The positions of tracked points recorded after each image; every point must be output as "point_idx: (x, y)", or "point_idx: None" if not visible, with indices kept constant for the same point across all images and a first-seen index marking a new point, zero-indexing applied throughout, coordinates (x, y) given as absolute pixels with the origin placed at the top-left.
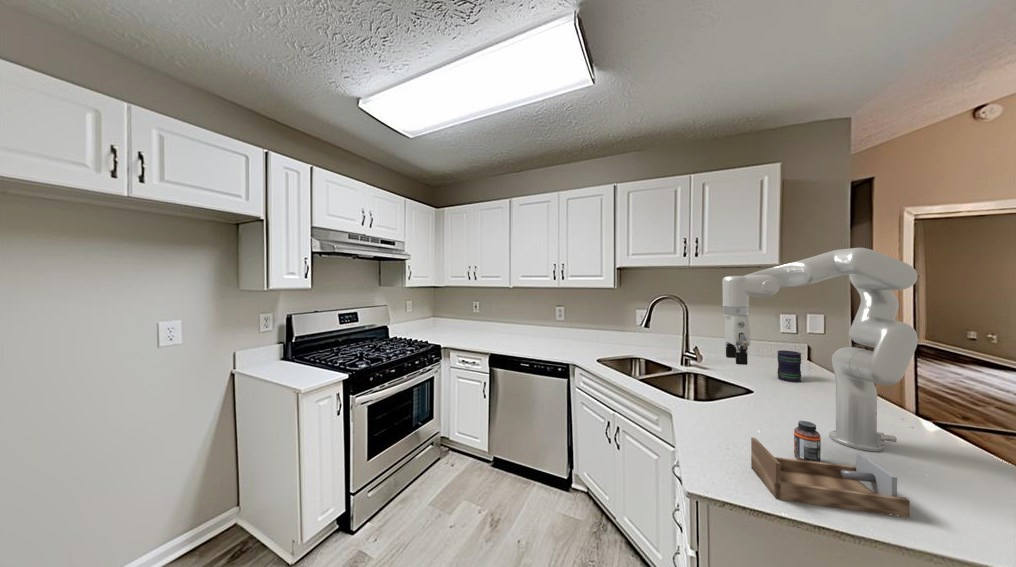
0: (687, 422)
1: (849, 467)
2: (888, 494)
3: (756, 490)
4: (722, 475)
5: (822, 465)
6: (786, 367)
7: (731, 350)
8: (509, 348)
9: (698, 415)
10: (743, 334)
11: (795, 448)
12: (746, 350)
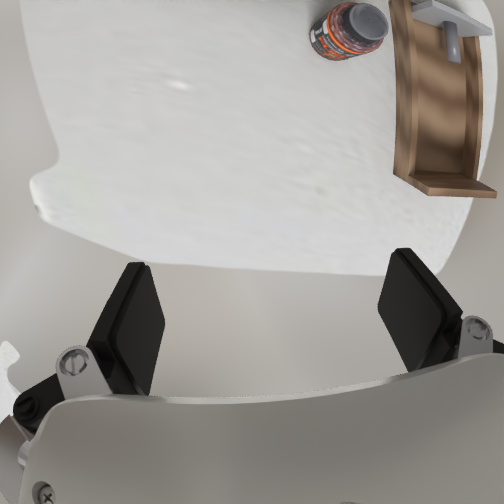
0: (191, 251)
1: (412, 18)
2: (467, 34)
3: None
4: (416, 230)
5: (415, 59)
6: None
7: (142, 346)
8: None
9: (129, 219)
10: None
11: (341, 58)
12: (501, 344)
